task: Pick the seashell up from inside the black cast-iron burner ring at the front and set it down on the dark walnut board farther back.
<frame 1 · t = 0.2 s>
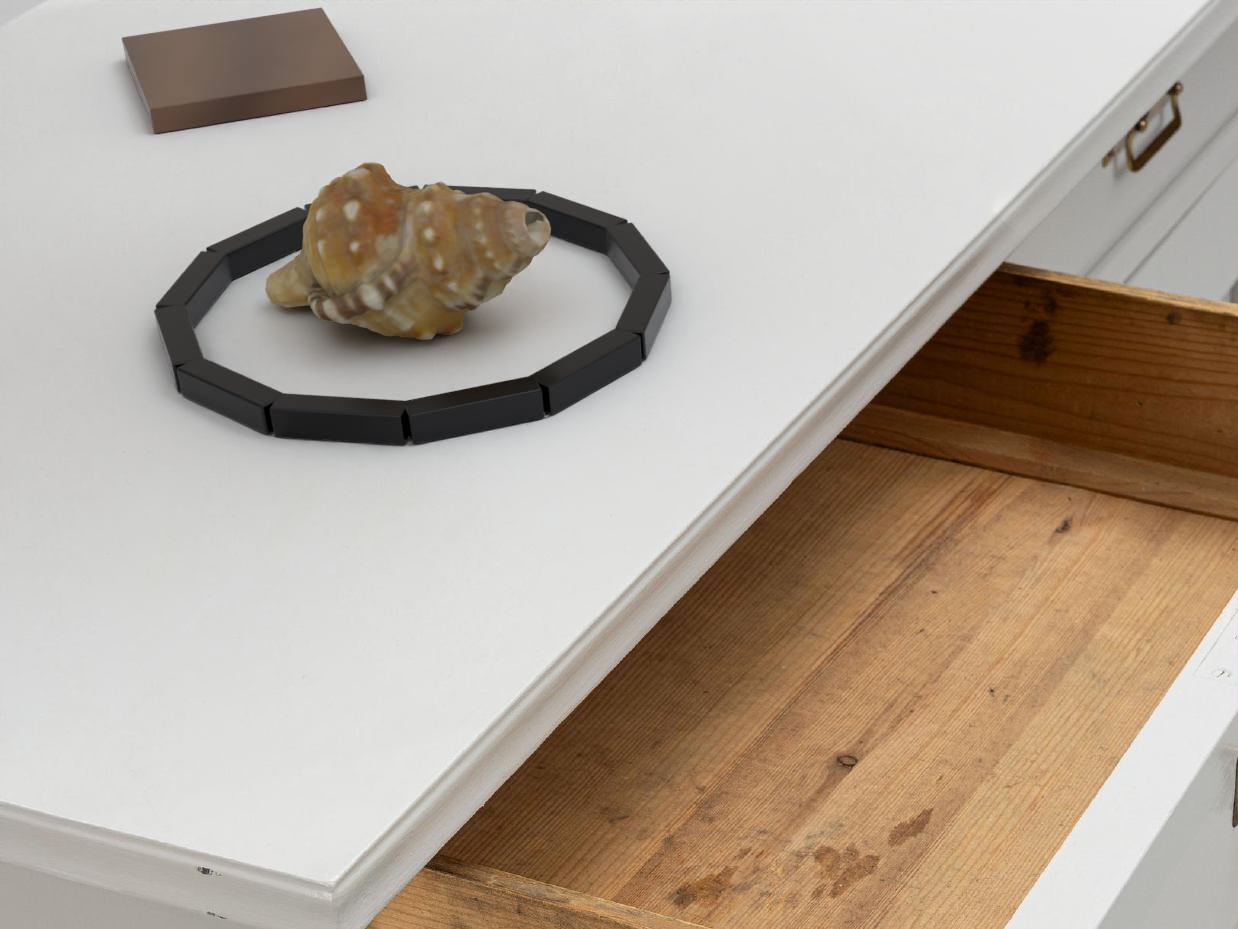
seashell: (418, 322, 86), on the table
walnut board: (244, 79, 106), on the table
burner ring: (417, 317, 86), on the table
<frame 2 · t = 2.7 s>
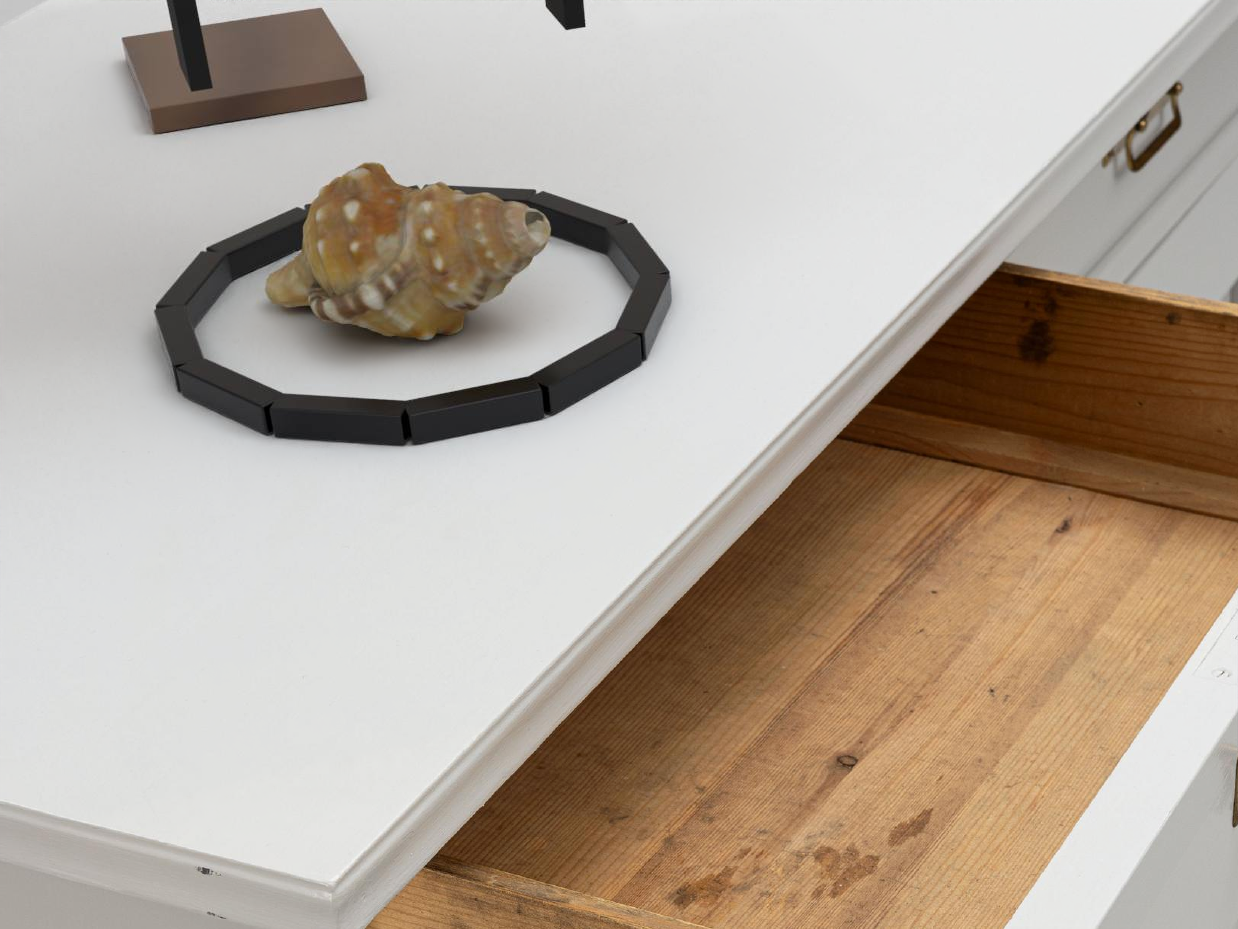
hand: (385, 47, 79), 11 cm above the table, tool pointing down, fingers open, 13 cm apart
nothing on the table moved.
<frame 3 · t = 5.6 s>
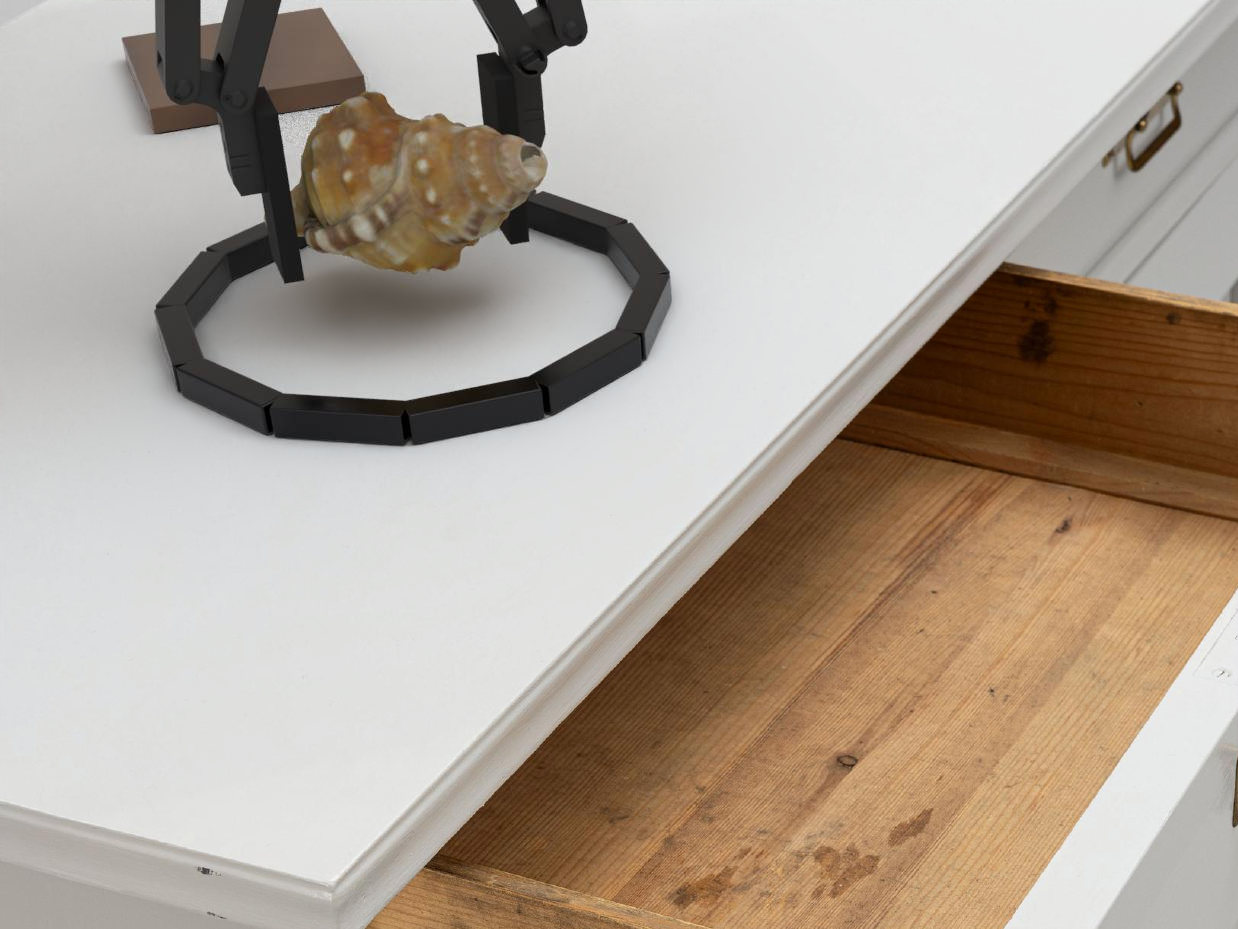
hand: (400, 247, 84), 3 cm above the table, tool pointing down, fingers closed on seashell, 8 cm apart
seashell: (416, 256, 85), point 2 cm above the table, touching gripper
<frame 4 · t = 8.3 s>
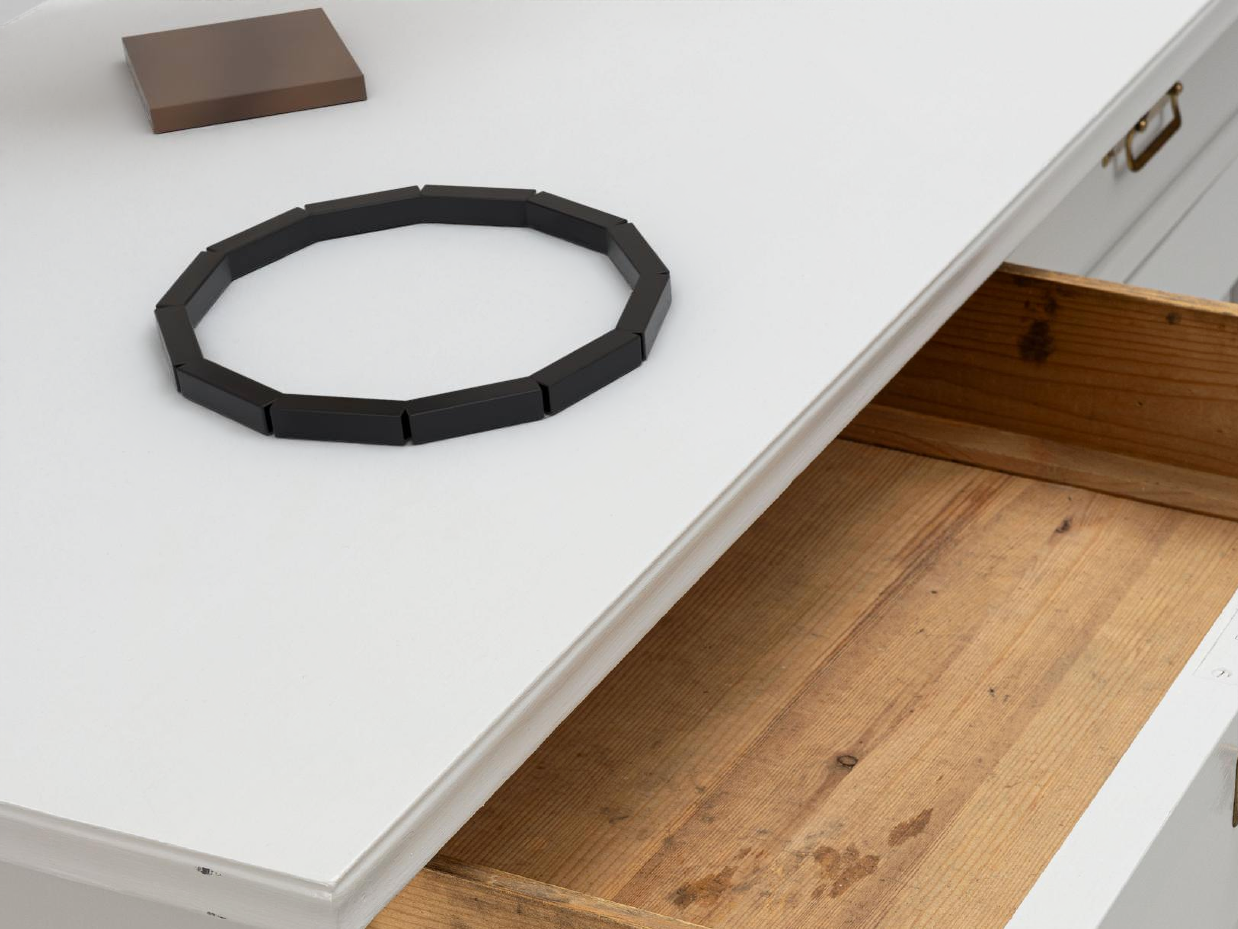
when the fingers open (2 cm above the table, at t = 11.1 s): seashell stays where it is, resting on walnut board.
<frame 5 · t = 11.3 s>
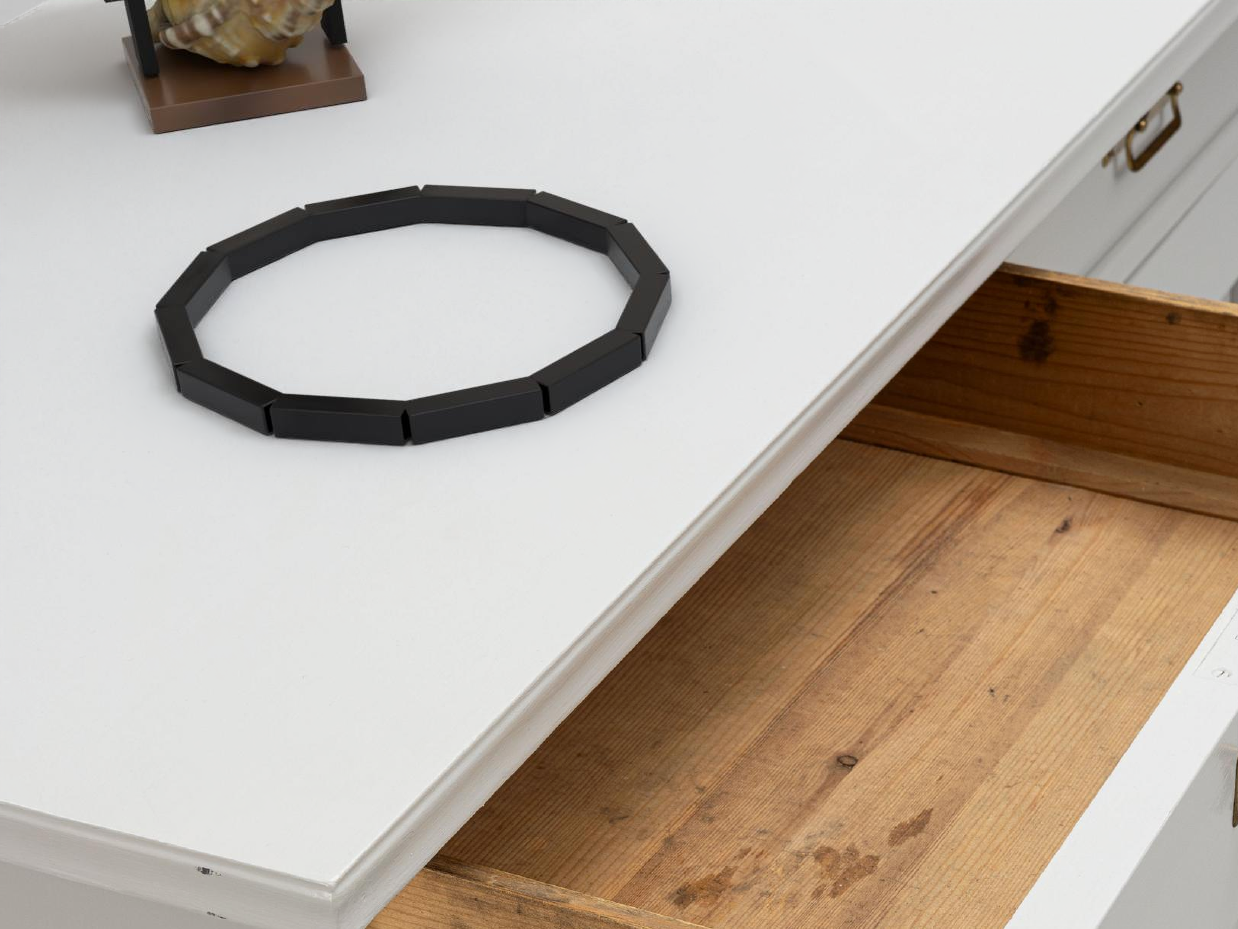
hand: (241, 49, 105), 1 cm above the table, tool pointing down, fingers open, 8 cm apart
seashell: (252, 58, 106), point 1 cm above the table, touching walnut board
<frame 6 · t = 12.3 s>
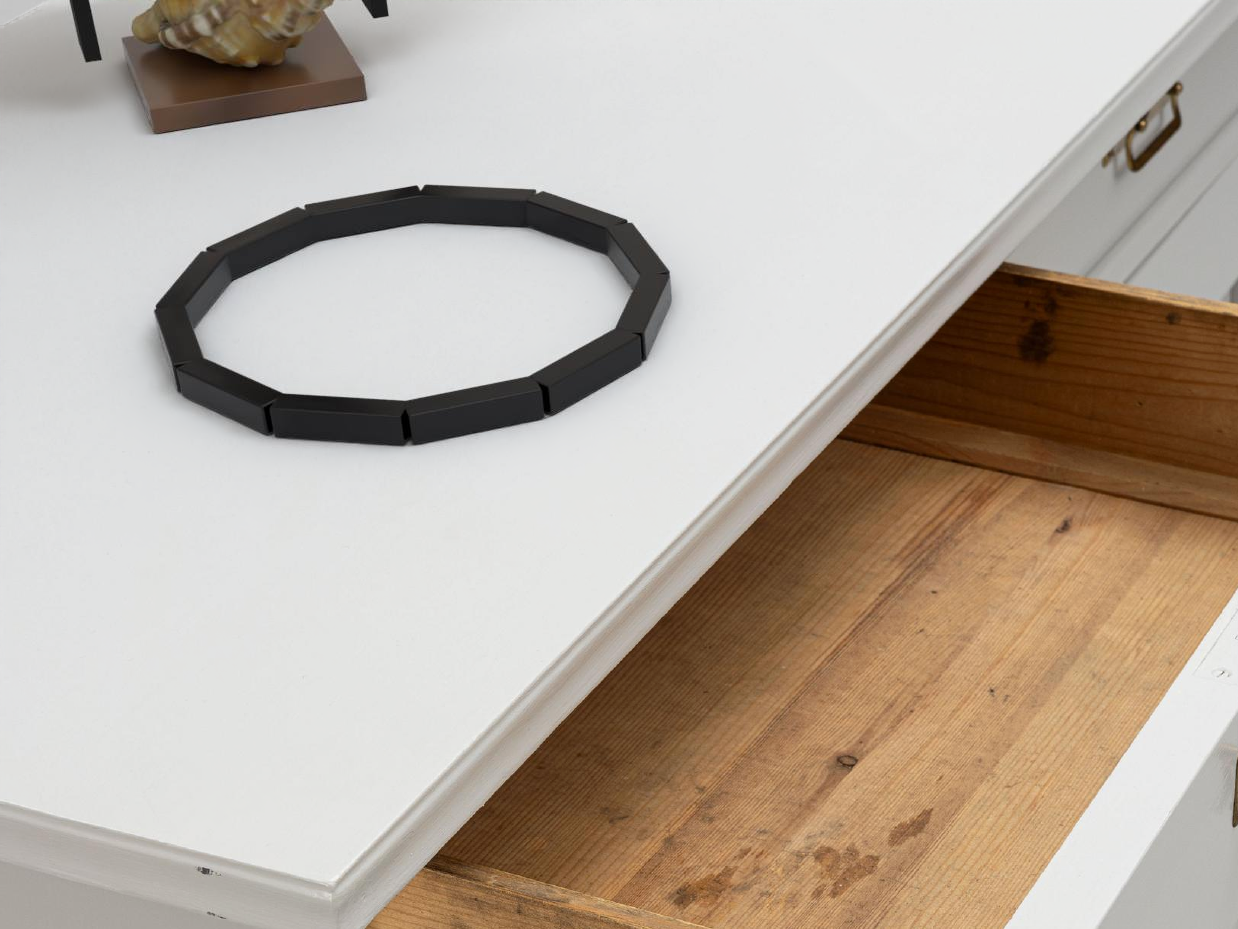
hand: (235, 30, 105), 2 cm above the table, tool pointing down, fingers open, 13 cm apart
nothing on the table moved.
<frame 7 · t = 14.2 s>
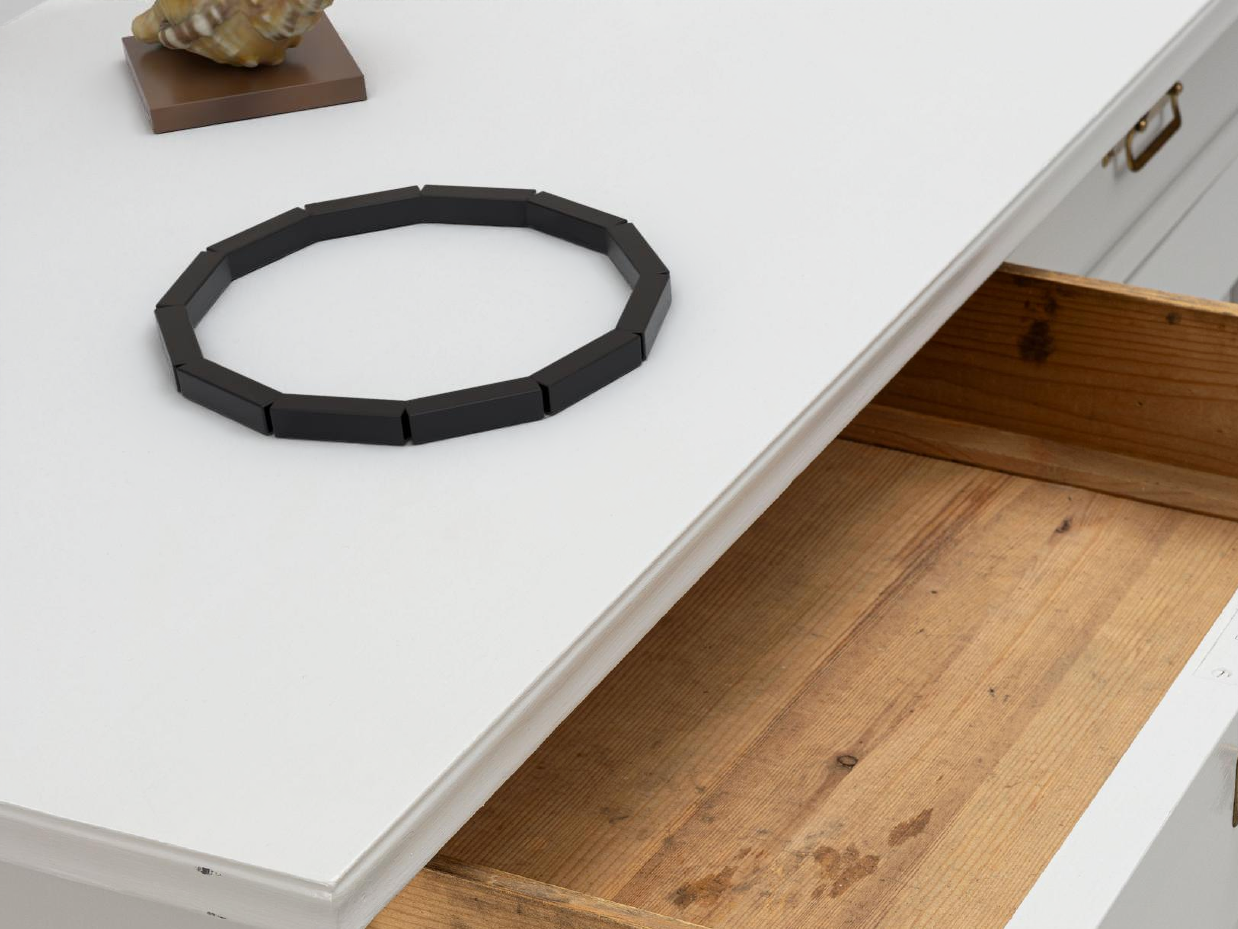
nothing on the table moved.
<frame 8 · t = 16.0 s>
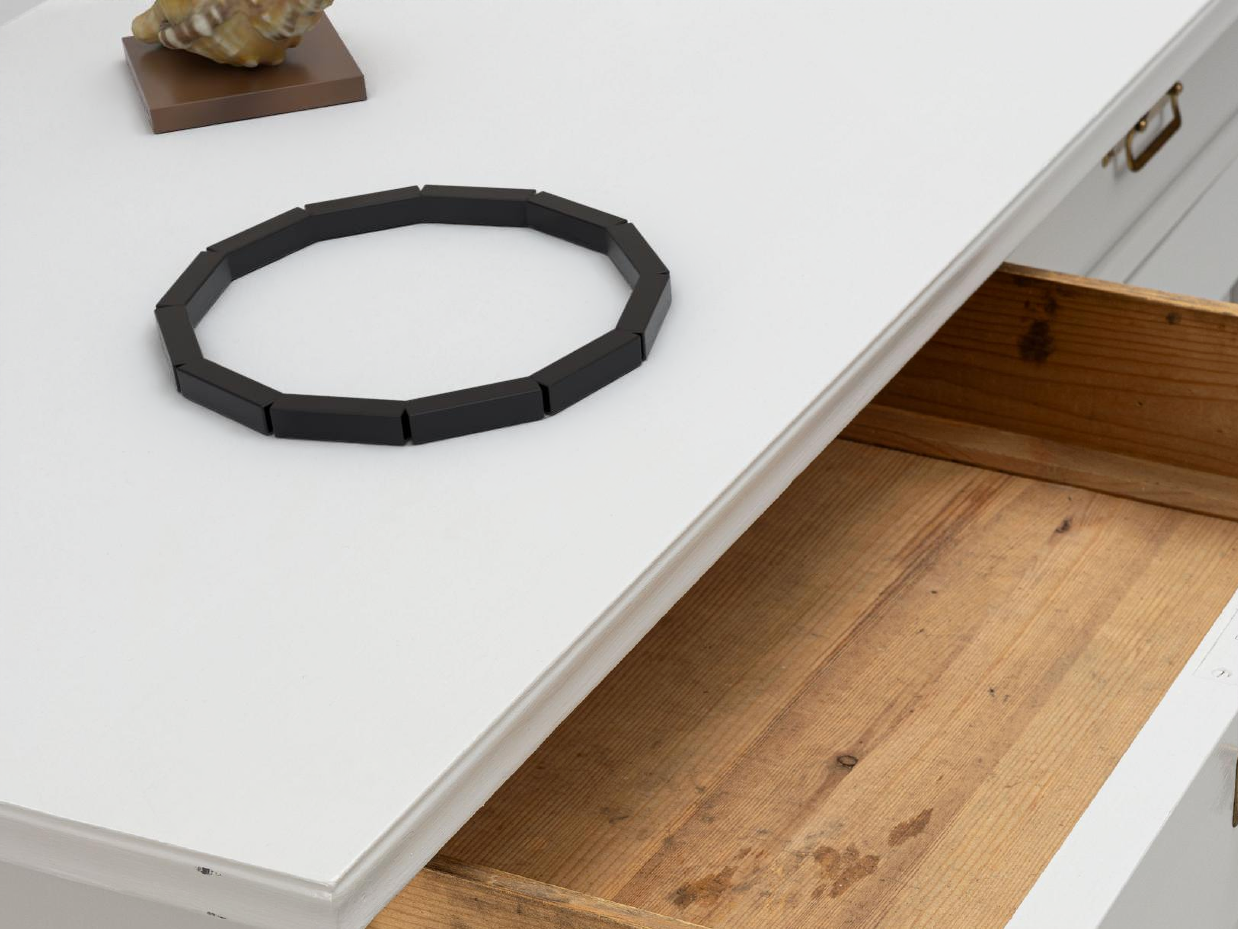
nothing on the table moved.
at the end: seashell inside the target area on the walnut board (0.6 cm from its centre), point 1.0 cm above the walnut board's base; the gripper is holding nothing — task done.
